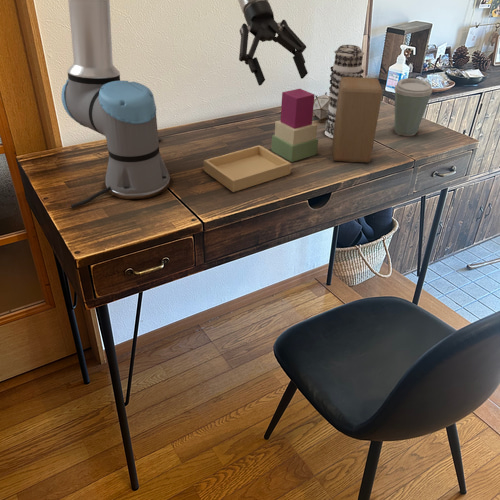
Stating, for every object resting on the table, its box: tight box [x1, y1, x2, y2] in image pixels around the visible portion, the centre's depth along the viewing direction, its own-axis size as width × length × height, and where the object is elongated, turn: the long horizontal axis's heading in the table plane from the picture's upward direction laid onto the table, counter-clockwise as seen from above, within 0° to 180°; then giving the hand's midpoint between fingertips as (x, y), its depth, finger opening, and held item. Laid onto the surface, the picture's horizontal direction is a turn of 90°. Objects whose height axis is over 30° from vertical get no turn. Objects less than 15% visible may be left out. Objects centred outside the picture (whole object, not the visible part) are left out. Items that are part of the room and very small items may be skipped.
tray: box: [203, 144, 292, 193], centre depth 124 cm, size 18×14×3 cm
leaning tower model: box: [324, 44, 365, 139], centre depth 140 cm, size 9×9×25 cm
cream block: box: [274, 119, 318, 145], centre depth 132 cm, size 8×8×4 cm
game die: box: [313, 91, 331, 123], centre depth 154 cm, size 9×8×10 cm
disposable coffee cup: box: [393, 77, 433, 137], centre depth 145 cm, size 11×11×15 cm
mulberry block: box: [280, 88, 316, 129], centre depth 128 cm, size 6×6×8 cm
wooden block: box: [331, 77, 383, 164], centre depth 129 cm, size 10×10×20 cm
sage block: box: [270, 134, 319, 163], centre depth 134 cm, size 9×9×4 cm
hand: (283, 79), depth 130 cm, fingers open, 13 cm apart
